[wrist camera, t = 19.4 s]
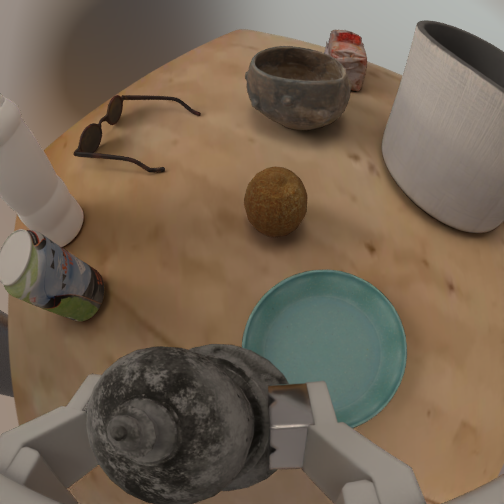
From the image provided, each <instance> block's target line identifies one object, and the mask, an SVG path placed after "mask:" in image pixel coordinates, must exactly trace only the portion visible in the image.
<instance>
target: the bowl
mask: <svg viewBox="0 0 504 504" xmlns="http://www.w3.org/2000/svg"><path fill="white" fill-rule="evenodd" d="M245 79H246V80H247V92H248V95H249V98H250V100H251V102H252V106H253V107H254V108H255V109H256V110H259V111H260V112H261V113H263V114H264V115H265V116H267V117H268V118H270V119H272V120H273V121H275V122H277V123H280V124H281V125H283V126H285V127H287V128H291V129H296V130H310V129H316V128H320V127H323V126H326V125H328V124H330V123H332V122H334V121H335V120H337V119H338V118H339V117H340V116H341V115H342V113H343V112H344V111H345V108H346V106H347V104H348V101H349V98H350V91H351V88H352V83H351V81H350V80H349V79H348V76H347V72H346V70H345V68H344V66H343V65H342V64H341V63H340V62H339V61H338V60H336V59H335V58H333V57H332V56H330V55H327V54H325V53H322V52H319V51H315V50H311V49H306V48H300V47H292V46H280V47H273V48H268V49H265V50H263V51H260V52H258V53H257V54H256V55H255V56H254V57H253V58H252V61H251V63H250V66H249V70H248V71H247V72H246V74H245Z"/></svg>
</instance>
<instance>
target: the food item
mask: <svg viewBox="0 0 504 504" xmlns="http://www.w3.org/2000/svg"><path fill="white" fill-rule="evenodd" d="M363 45H364V44H363V43H362V38H361V37H360V36H359V35H357V34H355V33H353V32H350V31H346V30H333V31H331V33H330V38H329V43H327V42H326V49H325V52H324V53H325V54H327V55H330V56H332V57H333V58H335V59H336V60H338V61H339V62H340V63H341V64H342V65H343V66H344V68H345V70H346V72H347V76H348V79H349V80H350V81H351V83H352V88H351V90H354V91H359V90H360V88H361V86H362V83H363V79H364V76H365V74H366V73H365V71H366V68H367V57H366V52H365V49H364V46H363Z"/></svg>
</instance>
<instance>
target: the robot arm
mask: <svg viewBox="0 0 504 504" xmlns="http://www.w3.org/2000/svg"><path fill="white" fill-rule="evenodd" d="M101 376H102V375H98V374H90V375H88V376H87V378H86V379H85V380H84V382H83V383H82V385H81V386H80V387H79V389H78V390H77V392H76V393H75V395H74V396H73V397H72V399H71V400H70V402H69V403H68V405H67V406H66V407H65V406H61V407H59V408H56V409H54V410H52V411H50V412H48V413H46V414H44V415H42V416H40V417H38V418H35V419H33V420H31V421H29V422H27V423H25V424H22V425H20V426H18V427H16V428H14V429H11V430H9V431H7V432H5V433H2V434H1V436H0V504H78V502H77V500H76V499H75V497H74V496H73V495H72V494H71V493H70V492H69V491H68V489H67V488H68V487H70V486H71V485H72V484H74V483H75V482H76V481H78V480H79V479H80V478H82V477H83V476H84V475H86V474H87V473H88V472H90V471H91V470H92V469H93V468H95V467H96V466H97V465H99V464H98V462H97V460H96V458H95V456H94V453H93V451H92V449H91V446H90V443H89V438H88V432H87V426H86V421H87V408H88V403H89V400H90V397H91V394H92V391H93V388H94V386H95V385H96V383H97V382H98V380H99V379H100V377H101ZM268 409H269V470H273V469H300V468H302V470H303V471H304V472H305V473H306V475H307V476H308V477H309V478H310V479H311V480H312V481H313V482H314V483H315V484H316V485H317V486H318V487H319V489H320V490H321V491H322V492H323V493H324V494H325V495H326V496H327V497H328V498H329V499H330V500H331V501H332V502H333V503H334V504H426V502H425V499H424V497H423V494H422V492H421V489H420V487H419V484H418V482H417V480H416V477H415V475H414V472H413V470H412V468H411V467H410V466H408V465H407V464H405V463H403V462H402V461H400V460H399V459H397V458H396V457H394V456H393V455H391V454H389V453H388V452H386V451H385V450H383V449H382V448H380V447H379V446H377V445H376V444H374V443H373V442H371V441H370V440H368V439H367V438H366V437H364V436H363V435H361V434H360V433H358V432H357V431H355V430H354V429H353V428H351V427H350V426H348V425H347V424H345V423H344V422H340V423H338V422H337V418H336V415H335V411H334V408H333V404H332V401H331V398H330V394H329V391H328V388H327V384H326V382H325V381H316V382H306V383H296V384H277V385H268ZM442 504H504V474H502V475H501V476H499V477H497V478H495V479H493V480H492V481H490V482H488V483H486V484H484V485H482V486H480V487H478V488H476V489H474V490H472V491H470V492H467V493H465V494H463V495H461V496H459V497H456V498H454V499H452V500H449V501H447V502H444V503H442Z"/></svg>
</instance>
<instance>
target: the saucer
mask: <svg viewBox="0 0 504 504" xmlns="http://www.w3.org/2000/svg"><path fill="white" fill-rule="evenodd" d="M242 348H245V349H248V350H252V351H253V352H255V353H257V354H259V355H260V356H262V357H264V358H266V359H267V360H269V361H270V362H271V363H272V364H273V365H274V366H275V367H276V368H277V369H278V370H279V371H280V372H281V373H283V375H284V376H285V378H286V379H287V381H288V383H289V384H296V383H306V382H316V381H325V382H326V384H327V388H328V391H329V394H330V398H331V401H332V404H333V408H334V411H335V415H336V418H337V422H338V423H340V422H344V423H345V424H347V425H348V426H350V427H351V428H354V427H357V426H359V425H361V424H363V423H365V422H367V421H368V420H370V419H372V418H373V417H374V416H376V415H377V414H378V413H379V412H381V411H382V410H383V409H384V407H385V406H386V405H387V404H388V403H389V402H390V400H391V399H392V398H393V396H394V395H395V393H396V391H397V389H398V387H399V386H400V384H401V381H402V378H403V375H404V372H405V367H406V359H407V344H406V335H405V332H404V328H403V325H402V322H401V320H400V317H399V315H398V314H397V311H396V310H395V308H394V307H393V305H392V304H391V302H390V301H389V300H388V299H387V298H386V297H385V296H384V294H383V293H382V292H381V291H379V290H378V289H377V288H376V287H374V286H373V285H372V284H370V283H369V282H367V281H365V280H364V279H361V278H359V277H357V276H355V275H352V274H349V273H346V272H342V271H336V270H312V271H306V272H303V273H299V274H295V275H293V276H291V277H289V278H286V279H284V280H283V281H281V282H279V283H278V284H276V285H275V286H274V287H272V288H271V289H270V290H269V291H268V292H267V293H266V294H264V296H263V297H262V298H261V299H260V301H259V302H258V303H257V304H256V306H255V307H254V309H253V311H252V313H251V314H250V316H249V319H248V321H247V324H246V327H245V330H244V334H243V339H242Z"/></svg>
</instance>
